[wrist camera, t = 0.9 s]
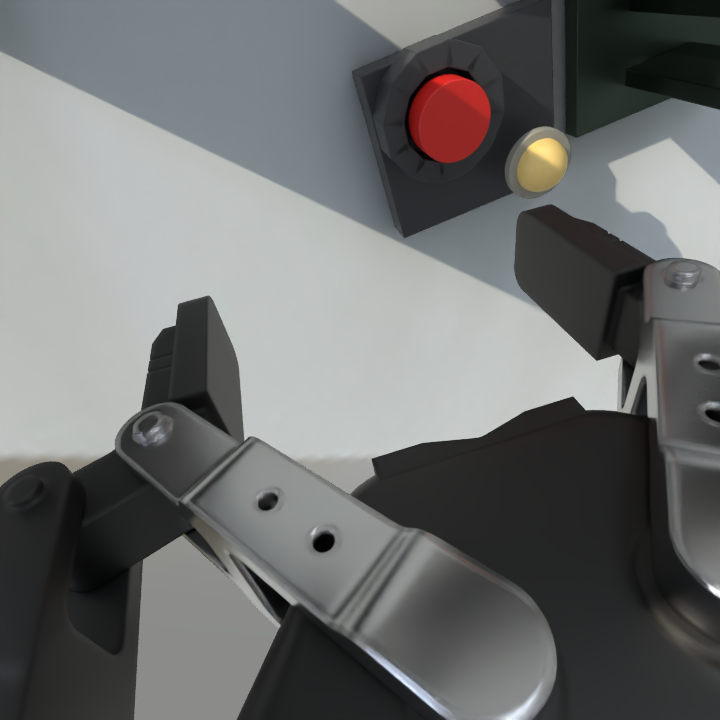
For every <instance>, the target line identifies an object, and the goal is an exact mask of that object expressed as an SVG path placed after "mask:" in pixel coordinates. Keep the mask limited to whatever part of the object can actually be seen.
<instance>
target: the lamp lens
mask: <svg viewBox="0 0 720 720" xmlns="http://www.w3.org/2000/svg"><path fill="white" fill-rule="evenodd" d="M570 157H571V148H570V143H569V141H568V139H567V137H566V136H565V134H564V133H562V132H561V131H559V130H557V129H555V128H552V127H547V126H545V127H538V128H535V129H533V130H531V131H529V132H527V133H526V134H524V135H523V136H522V137H521V138H520V139H519V140H518V141H517V142H516V143H515V144H514V146H513V147H512V149H511V151H510V153H509V155H508V157H507V160H506V164H505V179H506V183H507V185H508V187H509V188H510V189H511V190H512V191H513V192H514V193H516V194H517V195H519V196H521V197H523V198H536V197H539V196H542V195H544V194H546V193H548V192H549V191H550V190H552V189H553V188H554V187H555V186H556V185H557V184H558V183H559V182H560V180H561V179H562V178H563V176H564V174H565V172H566V170H567V168H568V165H569V162H570Z"/></svg>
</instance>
